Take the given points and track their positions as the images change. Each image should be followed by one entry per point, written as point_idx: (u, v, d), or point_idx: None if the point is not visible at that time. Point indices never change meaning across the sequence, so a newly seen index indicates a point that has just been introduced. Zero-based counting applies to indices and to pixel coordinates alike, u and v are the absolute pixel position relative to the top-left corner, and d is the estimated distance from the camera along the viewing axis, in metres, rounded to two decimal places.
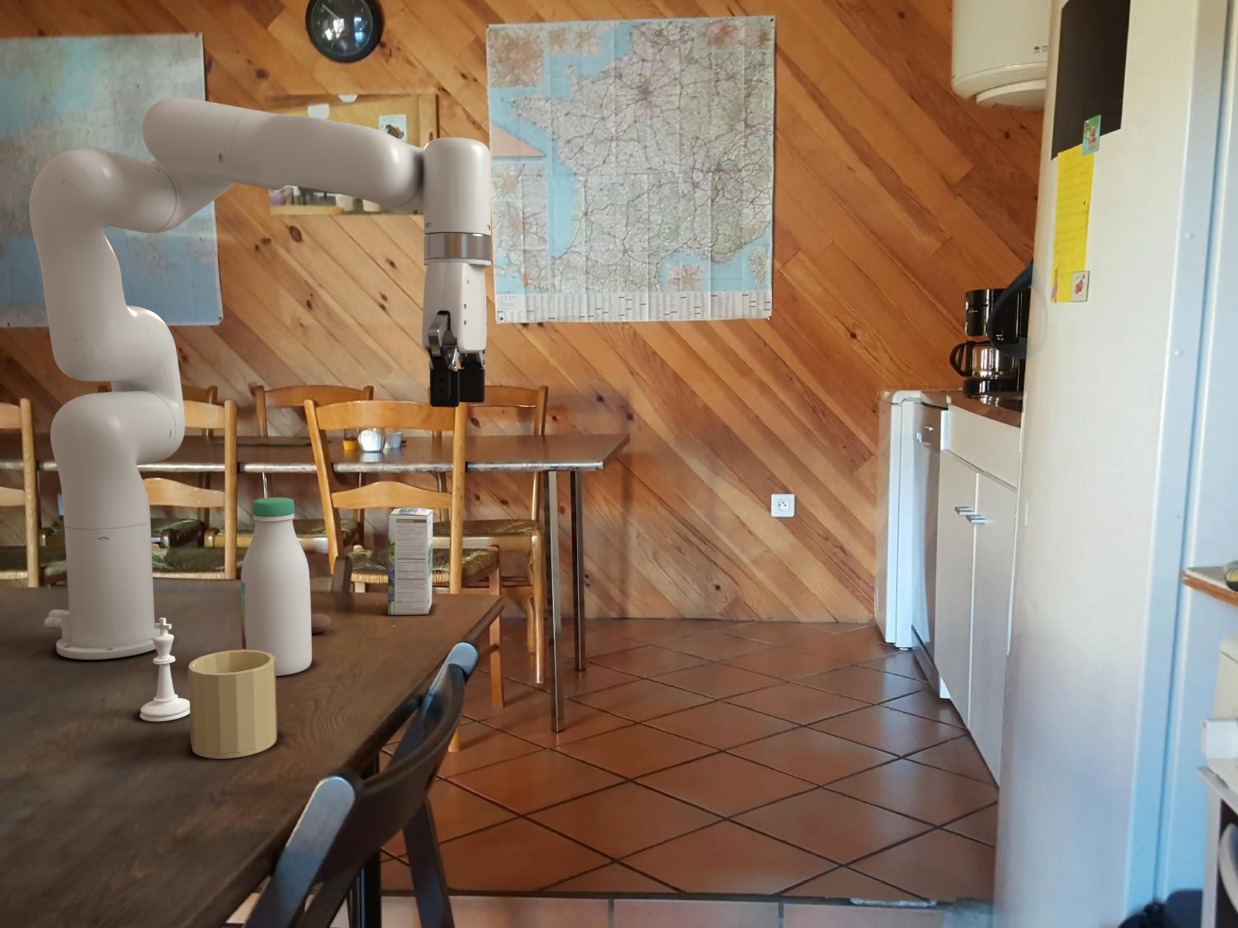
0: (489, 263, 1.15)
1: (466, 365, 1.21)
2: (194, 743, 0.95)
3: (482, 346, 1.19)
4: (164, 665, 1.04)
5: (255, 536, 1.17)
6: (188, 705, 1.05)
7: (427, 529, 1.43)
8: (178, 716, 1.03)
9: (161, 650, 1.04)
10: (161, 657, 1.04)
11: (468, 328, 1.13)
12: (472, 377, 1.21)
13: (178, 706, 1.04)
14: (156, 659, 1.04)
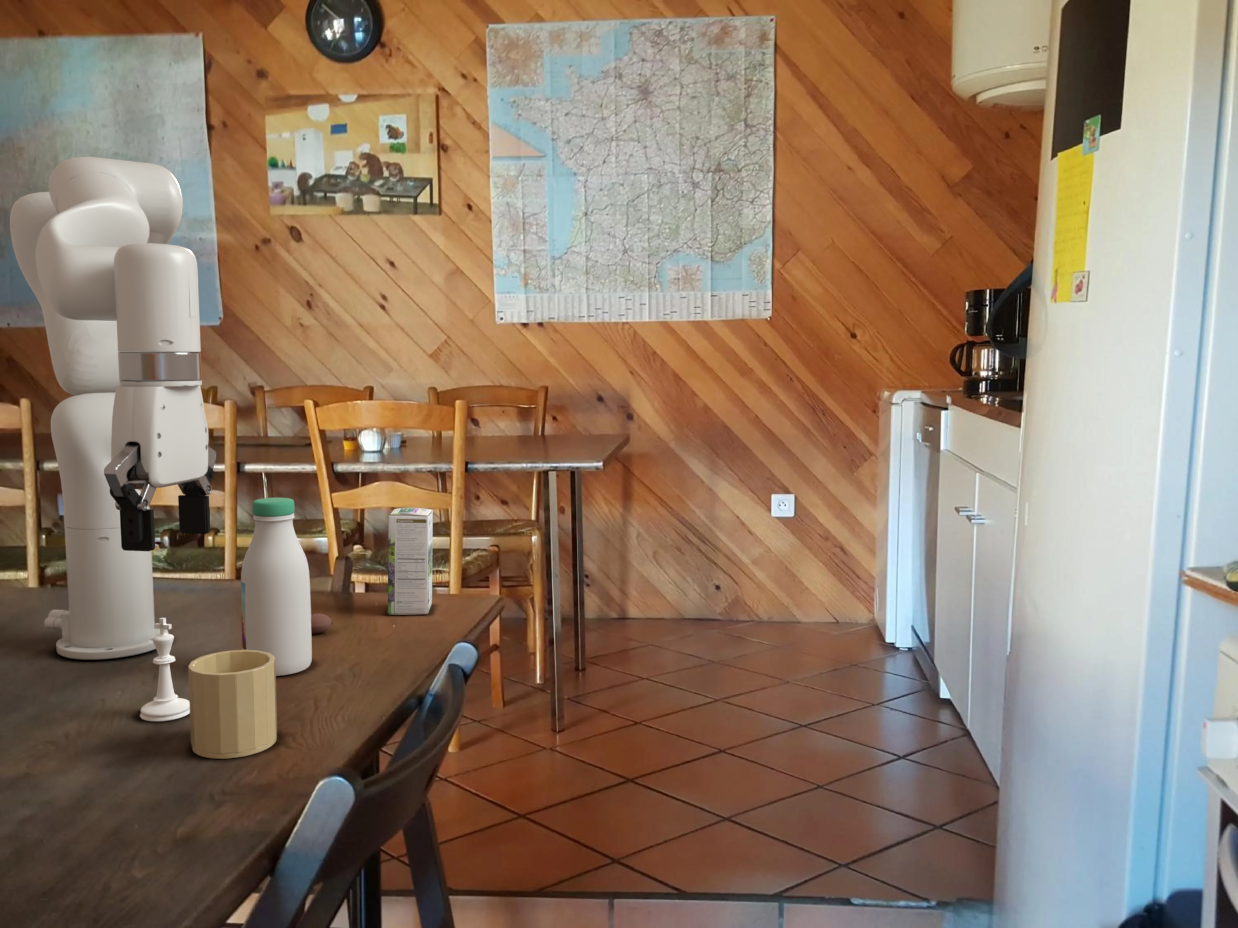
0: (195, 383, 1.01)
1: (187, 492, 1.07)
2: (194, 743, 0.95)
3: (199, 473, 1.05)
4: (164, 665, 1.04)
5: (255, 536, 1.17)
6: (188, 705, 1.05)
7: (427, 529, 1.43)
8: (178, 716, 1.03)
9: (161, 650, 1.04)
10: (161, 657, 1.04)
11: (167, 459, 0.99)
12: (194, 505, 1.07)
13: (178, 706, 1.04)
14: (156, 659, 1.04)
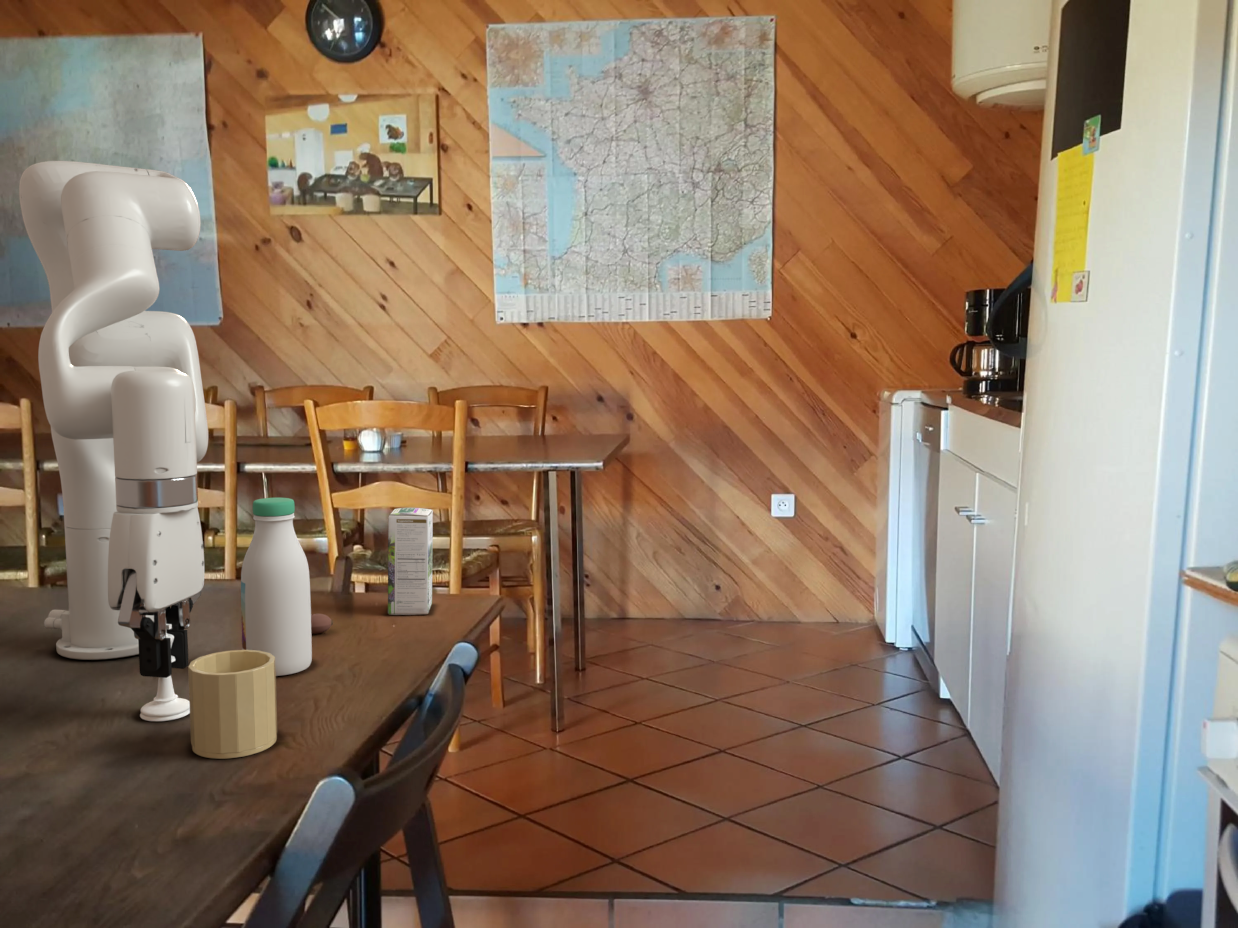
0: (191, 506, 1.02)
1: (165, 620, 1.05)
2: (194, 743, 0.95)
3: (195, 590, 1.06)
4: None
5: (255, 536, 1.17)
6: (188, 705, 1.05)
7: (427, 529, 1.43)
8: (178, 716, 1.03)
9: None
10: None
11: (162, 584, 1.00)
12: None
13: (178, 706, 1.04)
14: None
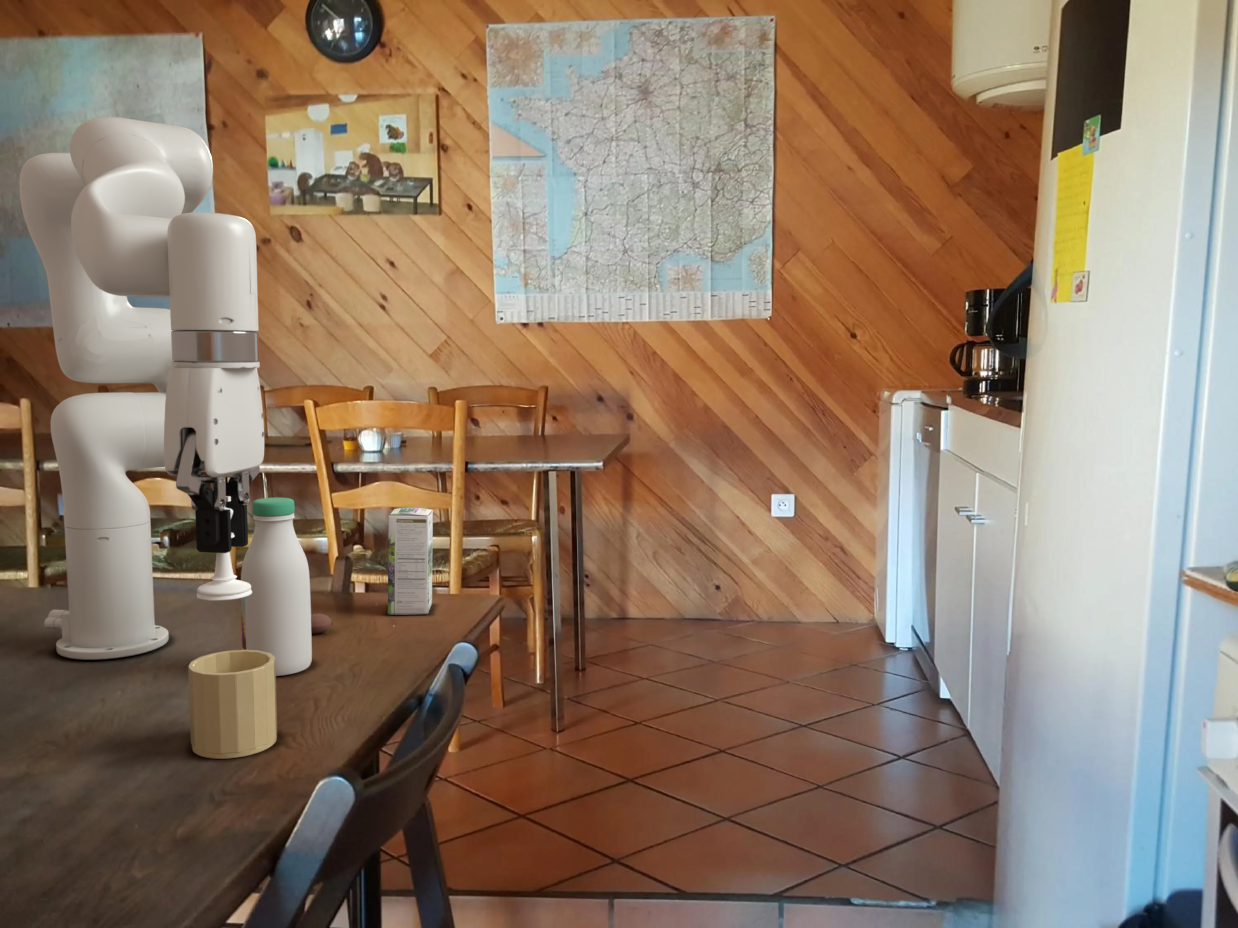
0: (253, 365, 0.93)
1: None
2: (194, 743, 0.95)
3: (255, 462, 0.97)
4: None
5: (255, 536, 1.17)
6: (248, 586, 0.96)
7: (427, 529, 1.43)
8: (238, 596, 0.95)
9: None
10: None
11: (223, 447, 0.91)
12: None
13: (238, 586, 0.95)
14: None
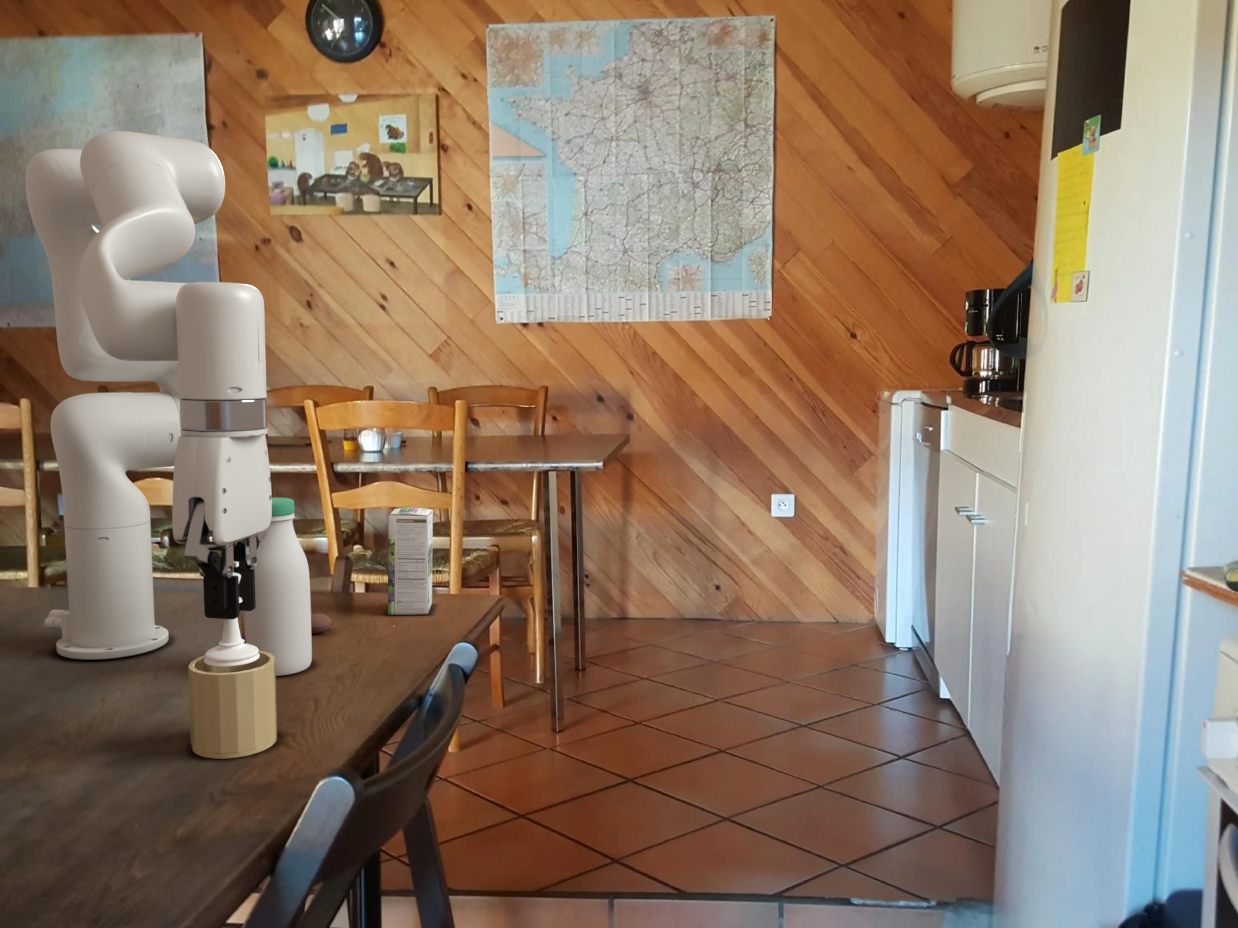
0: (262, 432, 0.93)
1: None
2: (194, 743, 0.95)
3: (263, 526, 0.97)
4: None
5: None
6: (256, 650, 0.97)
7: (427, 529, 1.43)
8: (246, 661, 0.95)
9: None
10: None
11: (231, 515, 0.91)
12: None
13: (246, 651, 0.96)
14: None
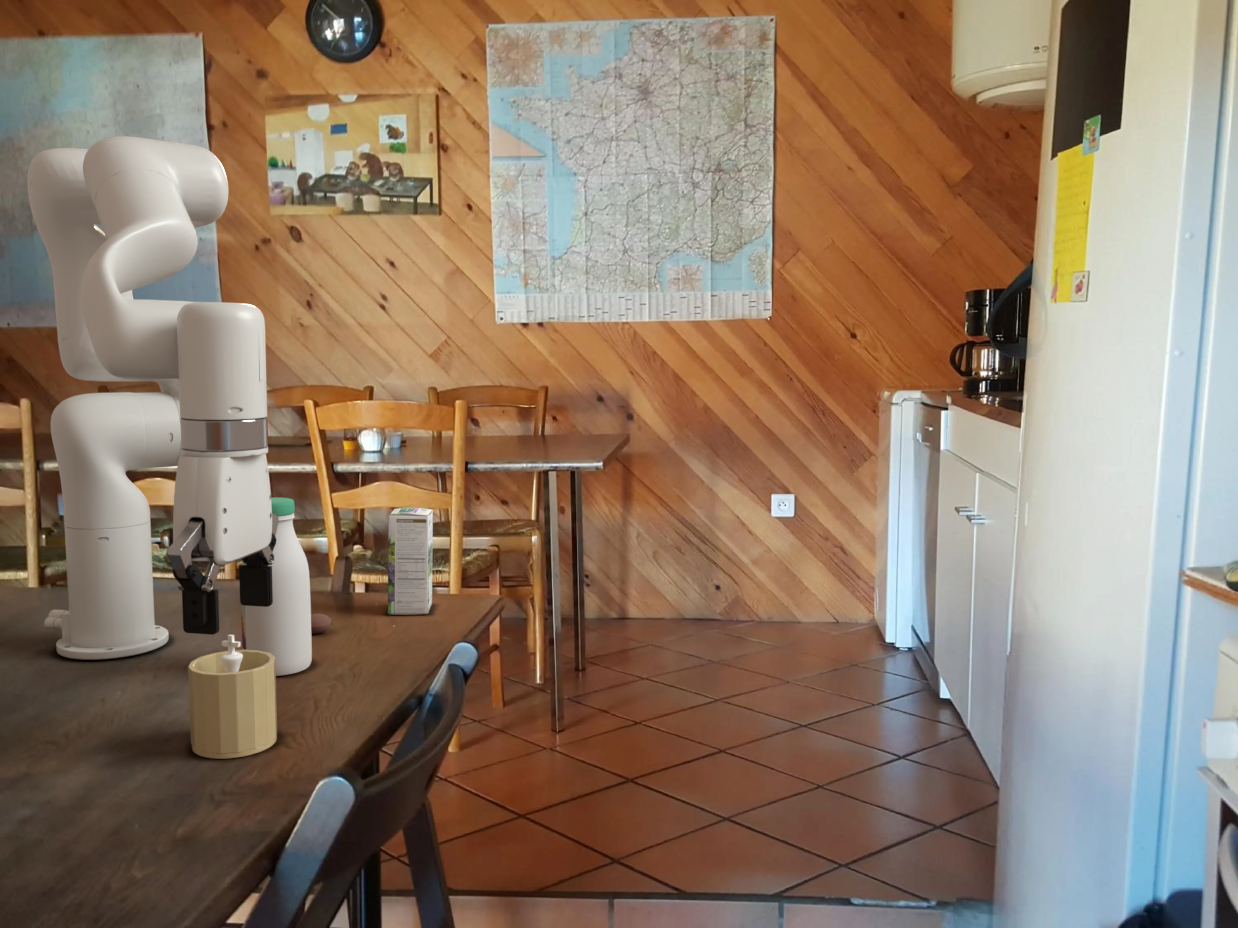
0: (262, 451, 0.94)
1: (249, 561, 1.00)
2: (194, 743, 0.95)
3: (263, 544, 0.98)
4: None
5: None
6: None
7: (427, 529, 1.43)
8: None
9: (229, 670, 0.96)
10: None
11: (232, 534, 0.92)
12: (256, 576, 1.00)
13: None
14: None
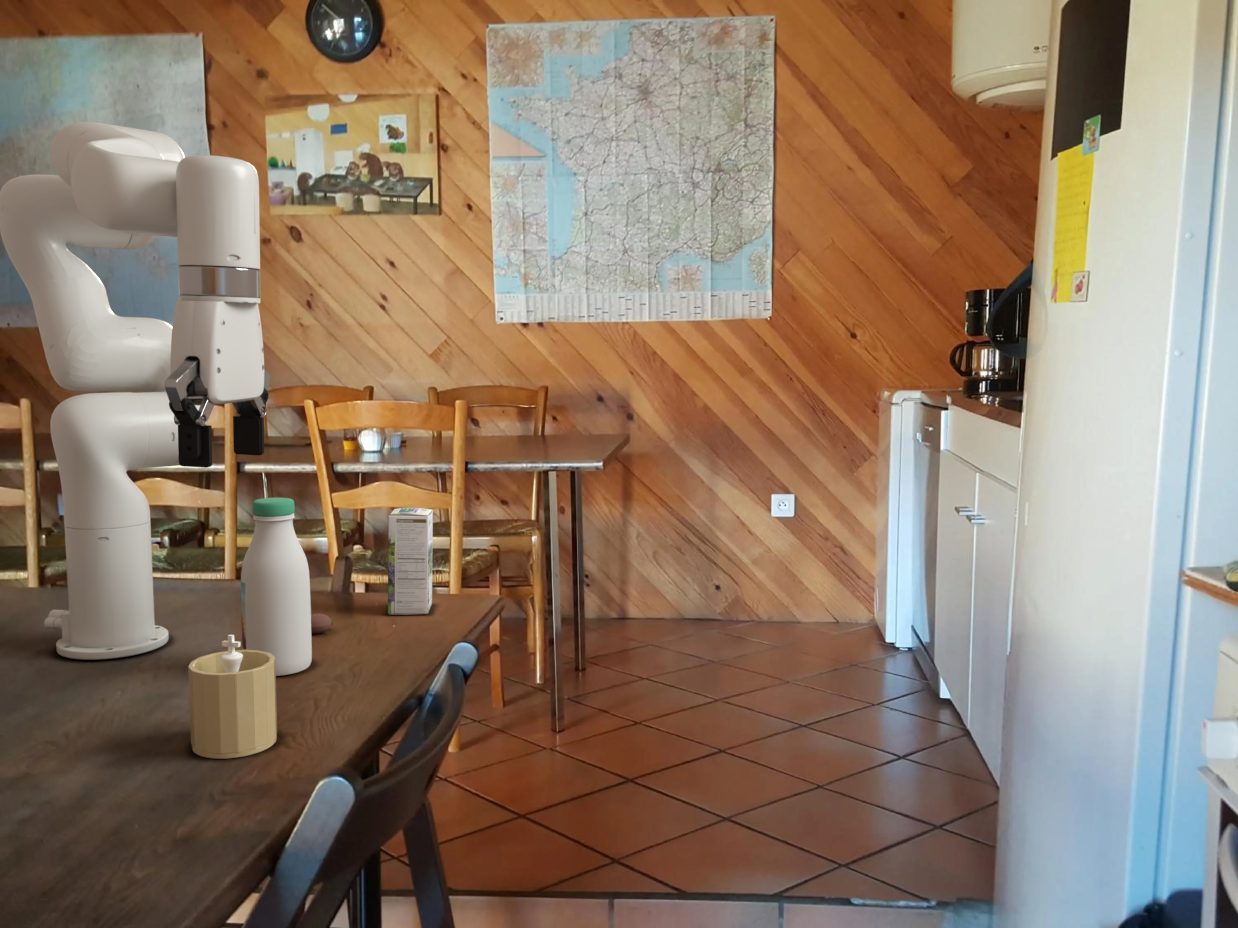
0: (255, 300, 1.00)
1: (242, 412, 1.07)
2: (194, 743, 0.95)
3: (255, 393, 1.04)
4: None
5: (255, 536, 1.17)
6: None
7: (427, 529, 1.43)
8: None
9: (229, 670, 0.96)
10: None
11: (225, 376, 0.98)
12: (249, 426, 1.06)
13: None
14: None
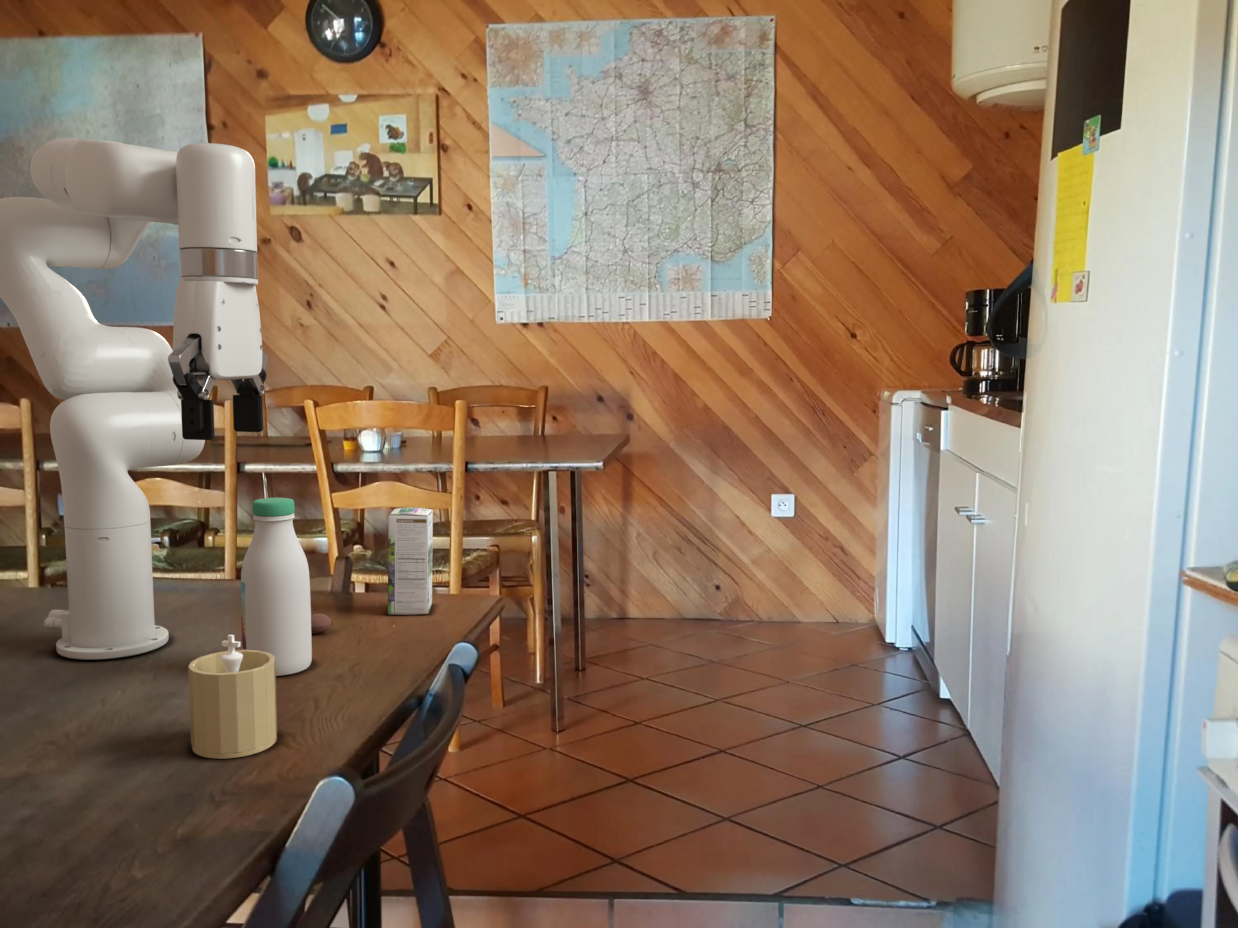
0: (253, 281, 1.04)
1: (242, 391, 1.11)
2: (194, 743, 0.95)
3: (254, 371, 1.09)
4: None
5: (255, 536, 1.17)
6: None
7: (427, 529, 1.43)
8: None
9: (229, 670, 0.96)
10: None
11: (226, 352, 1.03)
12: (248, 404, 1.11)
13: None
14: None
